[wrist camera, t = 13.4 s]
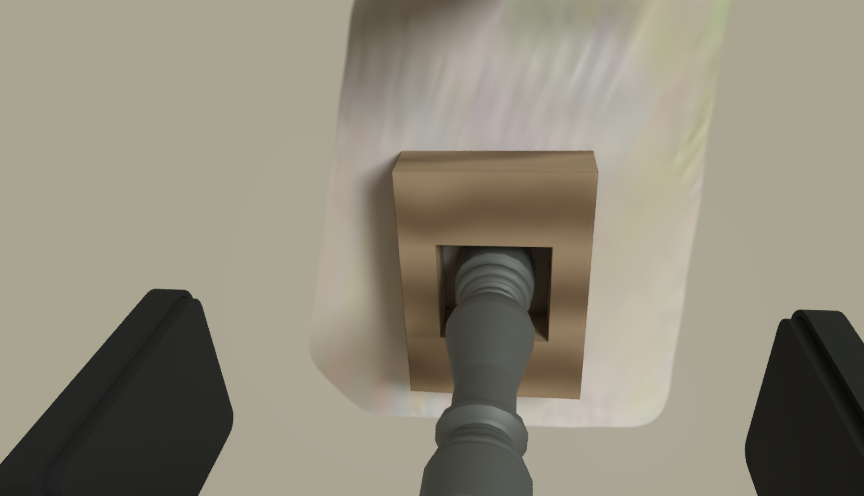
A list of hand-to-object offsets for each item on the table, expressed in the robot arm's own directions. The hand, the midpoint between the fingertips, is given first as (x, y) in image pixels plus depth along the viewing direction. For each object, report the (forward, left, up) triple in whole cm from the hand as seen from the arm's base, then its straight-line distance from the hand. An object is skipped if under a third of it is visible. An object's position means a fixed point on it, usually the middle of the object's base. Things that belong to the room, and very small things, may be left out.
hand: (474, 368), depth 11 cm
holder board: (+20, -1, -37) cm, 42 cm away
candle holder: (+20, -1, -37) cm, 42 cm away
